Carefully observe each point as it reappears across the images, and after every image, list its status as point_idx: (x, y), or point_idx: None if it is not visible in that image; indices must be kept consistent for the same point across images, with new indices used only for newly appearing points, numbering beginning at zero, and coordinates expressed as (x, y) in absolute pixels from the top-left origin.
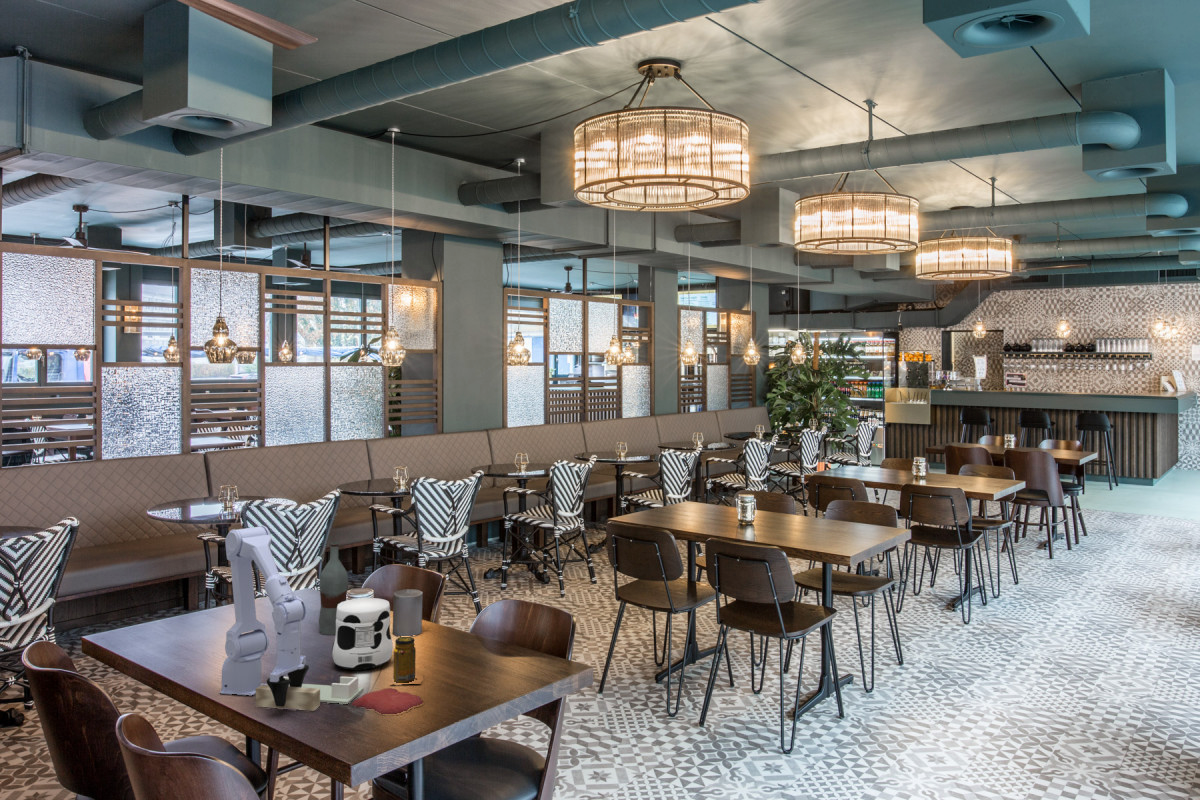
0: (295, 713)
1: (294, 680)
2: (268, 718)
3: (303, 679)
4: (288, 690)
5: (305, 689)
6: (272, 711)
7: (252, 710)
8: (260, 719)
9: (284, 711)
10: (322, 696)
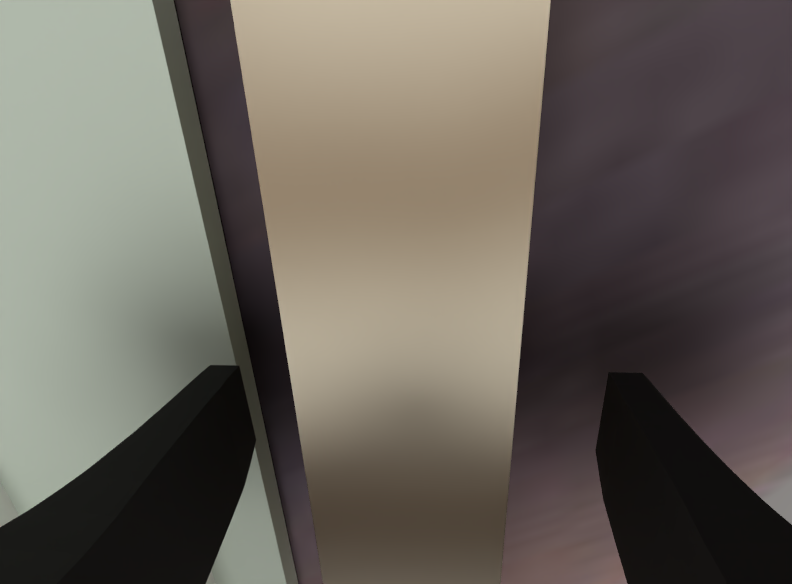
0: (599, 188)
1: (167, 580)
2: (756, 398)
3: (62, 491)
4: (475, 509)
5: (367, 288)
6: (557, 436)
7: (549, 572)
8: (779, 451)
9: (545, 334)
10: (41, 76)
